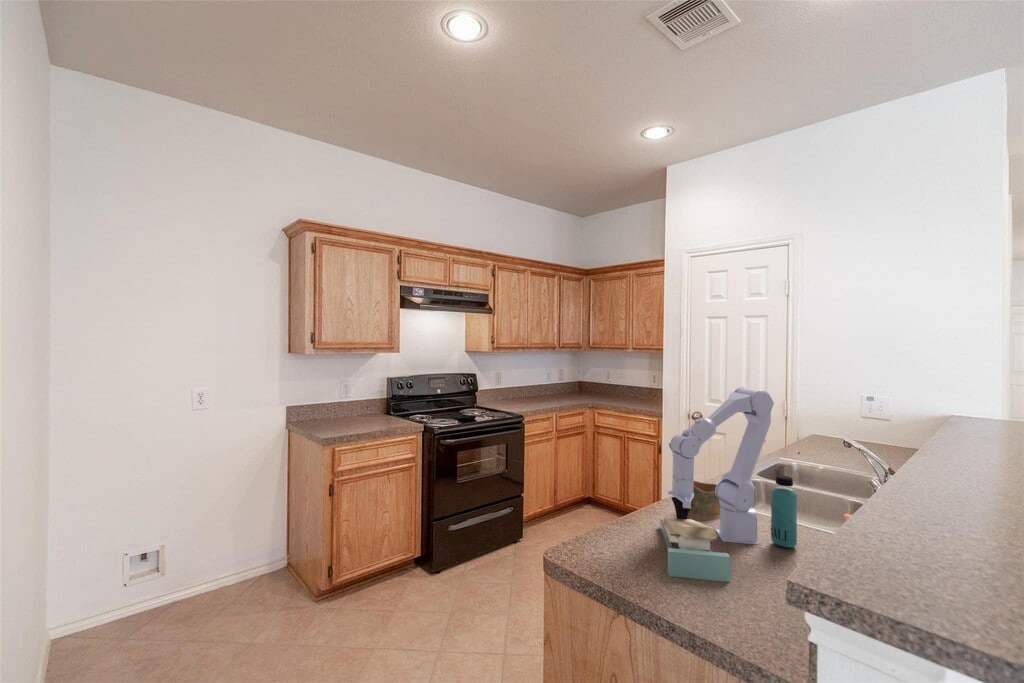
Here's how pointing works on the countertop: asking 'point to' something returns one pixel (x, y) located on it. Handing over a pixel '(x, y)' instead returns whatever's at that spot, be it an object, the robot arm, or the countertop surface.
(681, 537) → the roller
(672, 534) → the roller track
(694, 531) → the slab
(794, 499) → the beverage bottle
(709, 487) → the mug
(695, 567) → the rail
